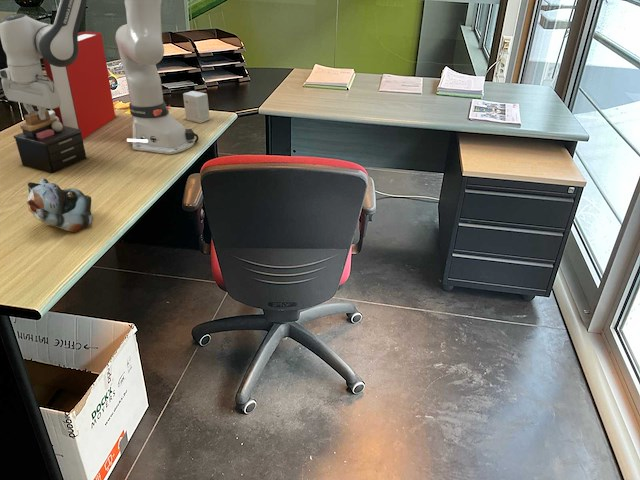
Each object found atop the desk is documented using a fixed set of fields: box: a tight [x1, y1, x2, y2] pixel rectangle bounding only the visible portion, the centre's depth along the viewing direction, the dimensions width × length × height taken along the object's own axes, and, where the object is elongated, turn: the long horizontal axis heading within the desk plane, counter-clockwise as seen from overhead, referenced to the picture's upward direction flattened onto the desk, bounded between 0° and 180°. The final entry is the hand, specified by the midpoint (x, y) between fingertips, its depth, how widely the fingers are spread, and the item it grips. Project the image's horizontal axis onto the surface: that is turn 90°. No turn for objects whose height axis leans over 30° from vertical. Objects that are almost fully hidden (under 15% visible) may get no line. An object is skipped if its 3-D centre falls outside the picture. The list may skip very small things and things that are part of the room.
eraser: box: [36, 129, 54, 139], centre depth 167 cm, size 5×2×1 cm, turn 154°
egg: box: [51, 121, 63, 132], centre depth 171 cm, size 3×3×3 cm
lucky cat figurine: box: [26, 178, 94, 233], centre depth 137 cm, size 15×12×14 cm
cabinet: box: [13, 125, 87, 175], centre depth 173 cm, size 14×14×10 cm
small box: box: [182, 90, 211, 124], centre depth 213 cm, size 8×6×10 cm
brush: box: [19, 109, 57, 137], centre depth 169 cm, size 4×10×6 cm, turn 155°
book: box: [42, 30, 116, 139], centre depth 197 cm, size 27×8×32 cm, turn 172°
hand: (37, 118), depth 168 cm, fingers closed on brush, 2 cm apart
